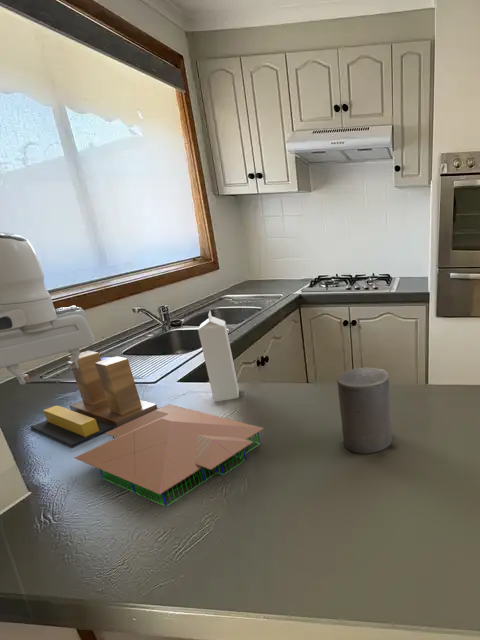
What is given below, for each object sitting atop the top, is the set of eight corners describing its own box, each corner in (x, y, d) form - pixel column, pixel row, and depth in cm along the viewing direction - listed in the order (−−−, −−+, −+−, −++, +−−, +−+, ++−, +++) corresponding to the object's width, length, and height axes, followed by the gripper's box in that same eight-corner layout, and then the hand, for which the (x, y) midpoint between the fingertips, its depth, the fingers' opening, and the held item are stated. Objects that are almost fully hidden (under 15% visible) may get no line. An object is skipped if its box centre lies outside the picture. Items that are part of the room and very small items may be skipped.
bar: (99, 430, 94) (95, 418, 93) (85, 437, 92) (80, 424, 91) (61, 416, 103) (57, 405, 102) (47, 421, 101) (42, 410, 100)
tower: (157, 409, 104) (142, 356, 99) (117, 427, 96) (98, 370, 91) (110, 395, 115) (94, 346, 110) (70, 410, 108) (52, 358, 103)
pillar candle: (333, 443, 83) (324, 372, 77) (367, 424, 89) (362, 357, 84) (369, 460, 76) (362, 383, 71) (403, 438, 83) (399, 366, 78)
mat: (115, 428, 96) (114, 426, 96) (72, 447, 89) (71, 445, 89) (72, 412, 106) (71, 410, 106) (31, 428, 99) (30, 426, 99)
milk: (214, 402, 106) (194, 316, 98) (215, 393, 111) (196, 311, 103) (239, 398, 107) (221, 313, 99) (239, 389, 113) (222, 308, 105)
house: (175, 516, 65) (162, 471, 63) (67, 467, 82) (53, 429, 79) (276, 445, 84) (270, 408, 81) (172, 416, 100) (163, 384, 97)
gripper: (76, 303, 98) (93, 359, 102) (-39, 324, 82) (-12, 389, 86) (89, 305, 94) (106, 363, 99) (-27, 326, 78) (0, 395, 83)
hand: (50, 375), depth 93 cm, fingers open, 8 cm apart
